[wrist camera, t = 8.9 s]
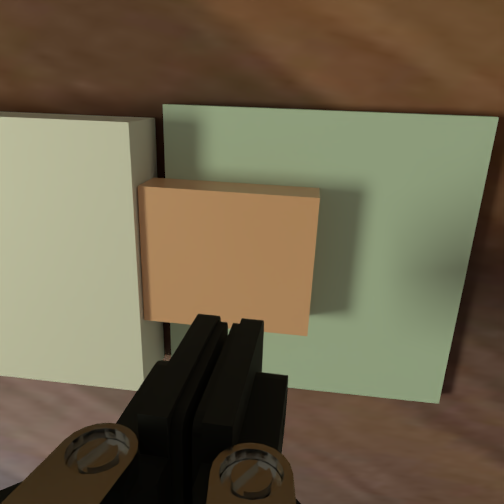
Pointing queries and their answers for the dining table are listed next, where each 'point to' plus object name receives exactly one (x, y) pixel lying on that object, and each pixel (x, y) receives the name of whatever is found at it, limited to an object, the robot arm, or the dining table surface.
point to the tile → (228, 252)
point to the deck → (74, 249)
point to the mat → (357, 231)
